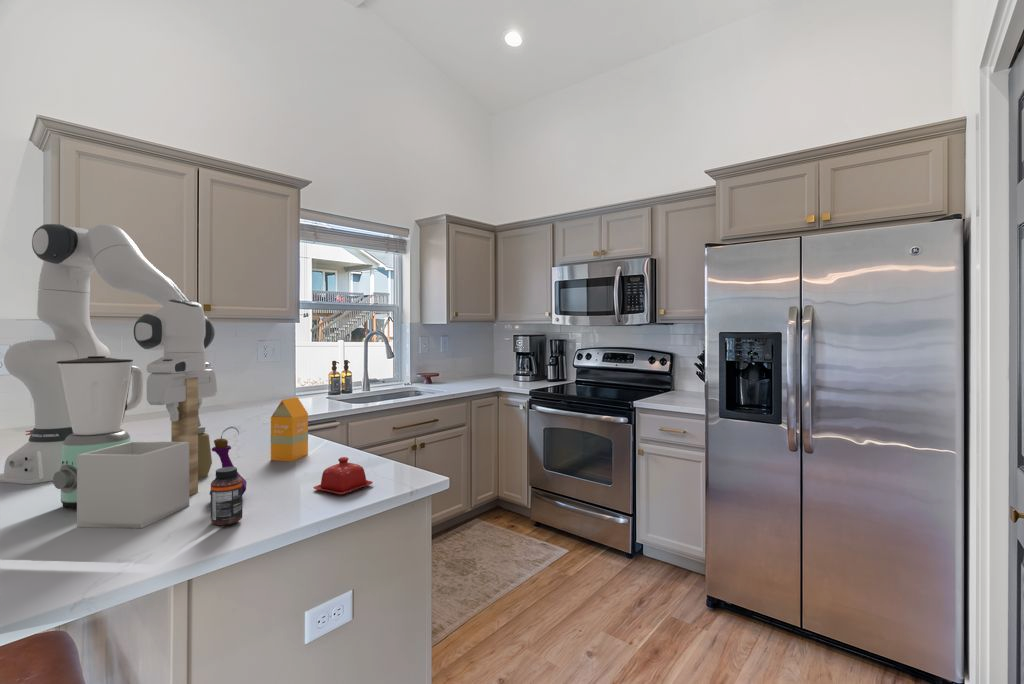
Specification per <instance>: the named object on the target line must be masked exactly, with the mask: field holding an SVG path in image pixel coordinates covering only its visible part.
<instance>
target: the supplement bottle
mask: <svg viewBox="0 0 1024 684" xmlns="http://www.w3.org/2000/svg"><path fill="white" fill-rule="evenodd" d="M237 472H238V468H237V467H235V466H234V467H223V468H222V467H220V468H218V469H216V470H215V478H214V479H213V480H212V481H211V482H210V490H211V495H210V523H211V524H212V525H214V526H227V525H228V526H229V525H232V524H236V523H237V522H239V521H241V520H242V518H243V495H242V479H241V478H240V477H238V475H237Z"/></svg>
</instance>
